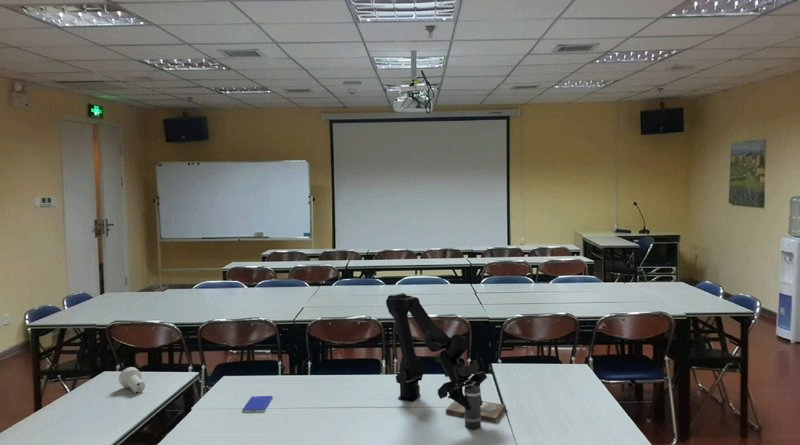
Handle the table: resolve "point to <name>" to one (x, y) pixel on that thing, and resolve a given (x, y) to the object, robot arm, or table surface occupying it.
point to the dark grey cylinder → (473, 407)
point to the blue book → (257, 404)
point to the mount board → (487, 410)
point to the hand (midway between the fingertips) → (475, 407)
